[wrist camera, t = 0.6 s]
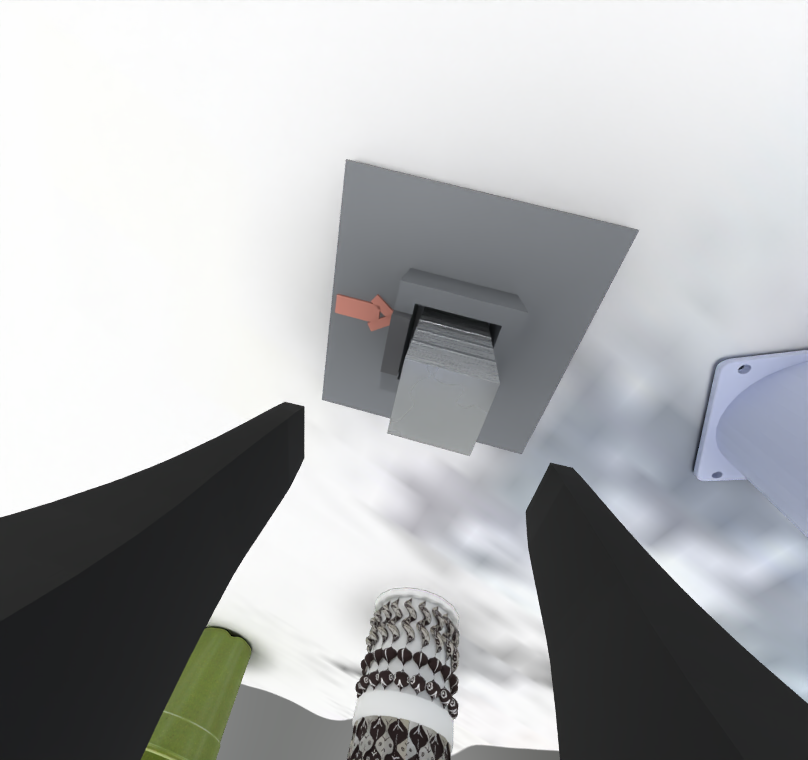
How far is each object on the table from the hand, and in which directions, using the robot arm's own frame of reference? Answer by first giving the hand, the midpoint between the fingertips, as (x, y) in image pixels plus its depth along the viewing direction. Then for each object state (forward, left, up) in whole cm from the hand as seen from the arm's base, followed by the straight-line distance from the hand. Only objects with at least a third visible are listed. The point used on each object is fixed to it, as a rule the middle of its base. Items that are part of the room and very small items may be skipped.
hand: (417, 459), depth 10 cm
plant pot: (+35, +37, -11) cm, 53 cm away
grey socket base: (-1, -1, -10) cm, 10 cm away
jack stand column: (-1, -1, -9) cm, 9 cm away
